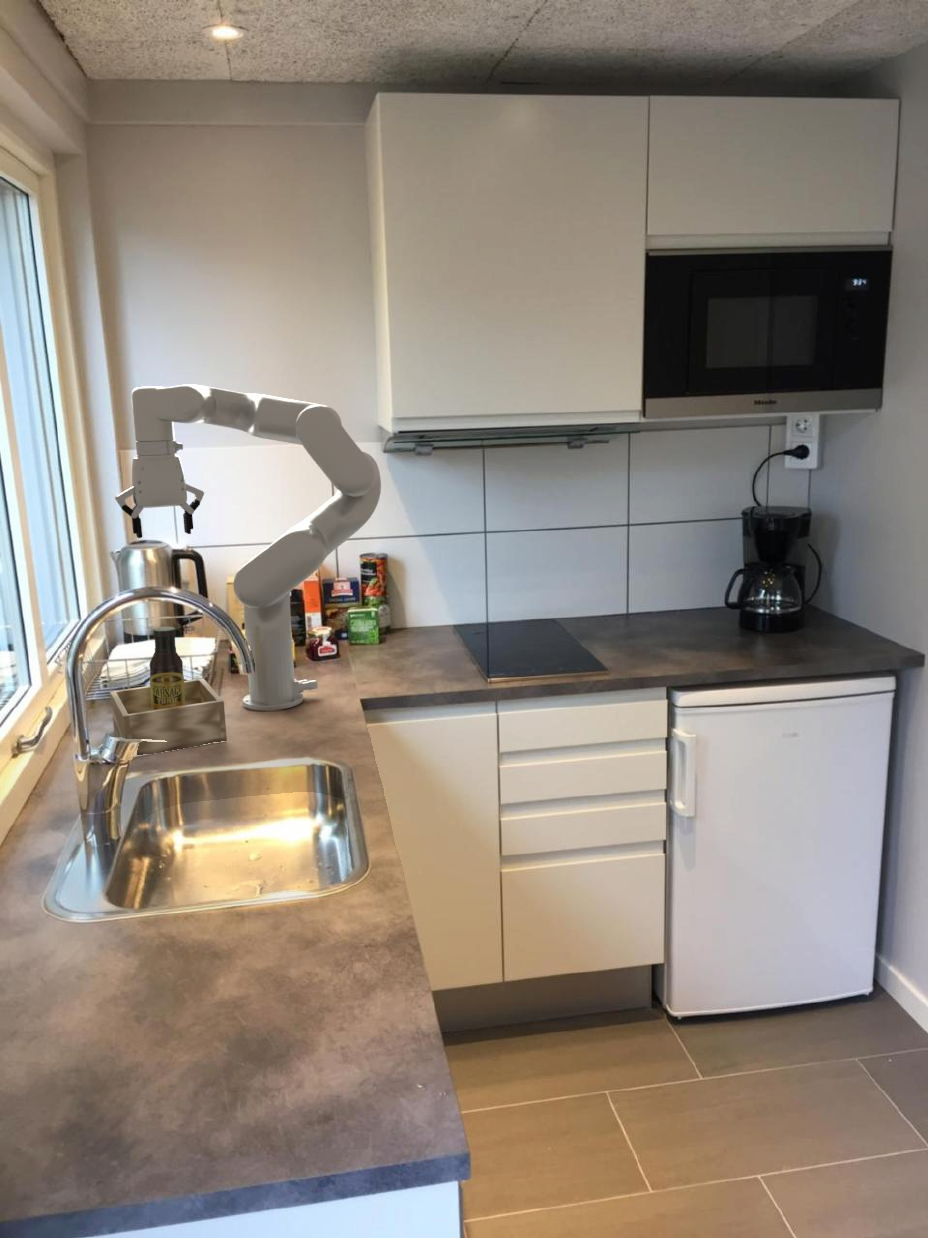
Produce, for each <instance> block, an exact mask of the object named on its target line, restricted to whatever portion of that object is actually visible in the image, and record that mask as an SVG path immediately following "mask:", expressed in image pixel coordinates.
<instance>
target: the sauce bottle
mask: <svg viewBox="0 0 928 1238" xmlns="http://www.w3.org/2000/svg"><path fill="white" fill-rule="evenodd" d="M176 632H177V631H176V628H175V627H174V626H158V627H155V628H153V638H154V647H155V648H154V653H153V655H152V658H151V660H149V686H150V691H151V710H158V709H165V708H171V707H178V706H184V705H185V694H184V681H185V679H184V667H183V665H184V664H183V659H182V658H181V656H179V654H178V652H177V647H176V635H177V634H176Z"/></svg>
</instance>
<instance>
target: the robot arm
mask: <svg viewBox="0 0 928 1238" xmlns="http://www.w3.org/2000/svg"><path fill="white" fill-rule="evenodd" d="M131 407H132V417H133V418H132V419H133V427H134V437H135V448H136V450H135V451H136V457H133V458H132V462H131V463H132V466H131V485H132V487H130V488H128V489H126V490H124V491H123V492H121V493H120V494H118V495H116V496H115V497H114V498H115V501H116V503H117V504H118V506H119V507H120V509H121V510H122V511H123V512H124V513H126V514H127V515H128V516H129V517H131V524H132V533H133V534H134V535H136V538H138V539H141V538H142V537H143V528H142V519H141V518H140V515H141V512H142V511H143V510H144V509H152V508H154V509H155V508H166V507H168V508H169V507H180V508H181V509H183V511H184V512H183V527H184V528H183V529H184V533H185V534H188V535H191V534H192V530H194V522H193V520H194V519H193V514H194V513H195V511H196V510H197V508H198V507H200V505H201V502H202V500H203V497H204V495H205V492H204V491H203V490H201V489H198V488H197V487H195V486H191V485H189V484H187V483H186V478H185V472H184V469H183V465H182V460H181V457H180V456H179V455H177V453H178V451H180V450H181V451H182V450H184V444H183V443H182V442H177V441H176V437H175V428H174V427H175V426H174V423H181V424H188V425H189V424H196V423H197V424H198V423H199V424H207V425H213V426H219V427H225V428H230V429H234V430H238V431H243V432H246V433H247V434H248V435H251V436H252V437H256V438H258V439H259V438H260V439H264V440H272V441H277V442H282V443H283V442H284V443H287V444H294V445H301V446H302V447H303V448H304V449H305V451H306V452H307V454H308V455H309V456H310V458H311V459H312V460H313V461H314V462H315V464H316V465H317V466H318V468H319V469H320V470H321V471H322V473H323V474H324V475H325V476H326V477H327V478H328V480H329V481H330V483H331V484H332V485H333V486H334V487H335V489H337V491H336V493H335V494H334V495H333V496H332V497H331V498H330V499H329V500H327V501H326V502H325V503H323V504H322V505H321V506H320V507H319V508H318V509H317V510H315V511H314V512H313V513H312V514H310V515H309V516H308V517H306V518H305V519H304V520H302V521H300V522H299V523H297V524H295V525H293V526H292V527H290V528H289V529H287V531H286V532H284V533H283V534H282V535H281V536H280V537H278V538H277V539H276V540H274V542H272V543H270V545H268V546H267V547H266V548H264V549H263V550H262V551H261V552H259V553H258V554H256V555H254V556H252V557H250V558H249V559H248V560H247V561H246V562H244V563H243V565H242V566H241V567H240V568H239V569H238V570H237V572H236V573H235V576H234V579H233V582H232V583H233V585H232V586H233V587H232V588H233V592H234V595H235V597H236V599H237V600H238V601H239V603H240V604H242V605H243V622H244V637H246V640H247V642H248V644H249V646H250V649H251V651H252V654H253V658H254V663H255V673H254V674H253V675H248V674H247V676H248V678H247V679H248V690H249V694H247V695H245V696H244V697H243V698H242V705H243V707H245V708H246V709H249V710H252V711H261V712H263V711H264V712H266V711H268V712H269V711H279V710H285V709H289V708H293V707H296V706H298V705H300V704H301V703H302V702H303V701H304V694H303V693H304V691H307V690H308V691H311V690H317V689H318V681H317V680H316V679H315V680H308V679H302V680H298V679H296V678H295V670H294V669H295V668H294V667H295V665H294V652H293V651H294V650H293V637H292V635H293V634H292V619H291V616H292V615H291V591H293V589H295V588H296V587H298V586H299V585H301V583H303V582H304V581H305V580H306V579H308V578H309V577H311V576H312V575H313V574H314V573H315V572H316V571H318V569H320V567H322V564H323V563H324V561H325V560H326V558H327V557H329V555H330V554H332V553H333V552H334V551H335V550H336V549H337V548H339V547H340V546H341V545H342V544H343V543H345V542H346V541H347V540H348V539H349V538H351V537H352V536H353V535H355V534H356V533H357V532H358V531H359V530H360V529H362V527H363V526H364V525H365V524H366V523H367V522H368V521H369V520H370V518H372V515H373V514H374V512H375V511H376V508H377V507H378V504H379V501H380V496H381V493H382V492H381V491H382V481H381V473H380V469H379V466H378V464H377V461H376V460H375V458H373V456H372V455H371V454H369V453H368V452H366V451H362V450H361V448H360V447H359V445H358V444H357V443H356V442H355V440H354V439H352V437H351V436H350V435H349V433H348V432H347V431H346V429H345V428H344V427H343V424H342V420H341V417H340V415H339V413H338V412H337V411H336V410H335V409H334V408H332V407H330V406H329V405H324V404H319V403H314V402H308V401H301V400H295V399H292V398H291V399H290V398H283V397H280V396H273V395H267V394H260V393H245V392H238V391H233V390H229V389H228V390H227V389H222V388H218V387H217V388H216V387H211V386H206V385H199V384H180V385H174V386H168V387H167V386H166V387H165V386H140V387H139V386H138V387H134V388H133V390H132V391H131ZM188 493H191V494H193V495H194V499H193V501H191V503H190V504H189V503H187V502H188ZM131 496H132V498H133V499H132V500H133V503H134V506H133V507H132V508H131V507H130V506H129V505H128V504H127V503H126V499H128V498H129V497H131ZM246 640H245V641H246Z"/></svg>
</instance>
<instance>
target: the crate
mask: <svg viewBox="0 0 928 1238" xmlns="http://www.w3.org/2000/svg"><path fill="white" fill-rule="evenodd" d="M109 694H110V695H109V696H110V704H111V714H112V724H113V730H114V733H115V736H116V737H122V738H125V739H152V740H165V741H167V742H147V741H142V742H140V743H139V746H138V750H137V755H143V754H152V755H155V754H154V753H158V754H162V753H161V752H164V753H166V752H165V751H170V752H173V751H172V750H176V751H178V750H177V749H182V750H184V749H183V748H188V749H190V748H189V747H193V748H195V747H194V746H199V747H201V746H200V745H203V744H208V743H213V742H221V741H227V742H228V739H227V725H226V713H225V711H226V710H225V702H224V699H222V697H221V696H220V695H219V694H218V693H217V692H216V691H215V690H214V689H213V688H212V687H211V685H210V684H209V683H208V682H207V681H206V679H204V678H197V679H188V680H184V694H185V705H184V706H178V707H171V708H165V709H158V710H151V691H150V685H148V686H142V687H141V686H139V687H131V688H125V689H120V690H119V689H118V690H112V691H109Z"/></svg>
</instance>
